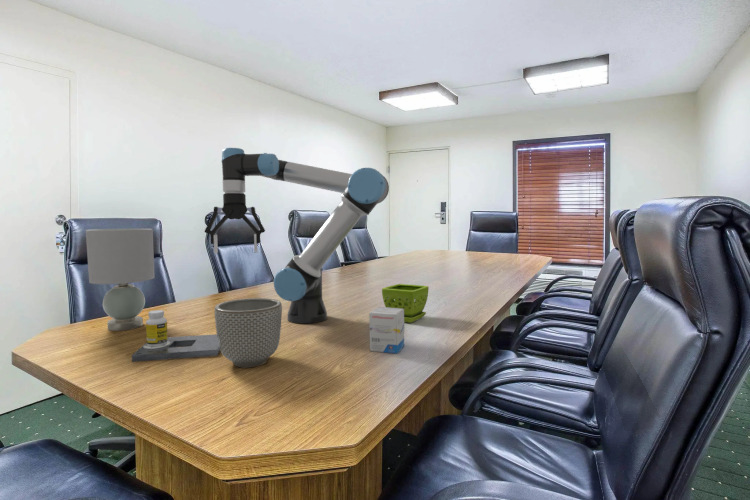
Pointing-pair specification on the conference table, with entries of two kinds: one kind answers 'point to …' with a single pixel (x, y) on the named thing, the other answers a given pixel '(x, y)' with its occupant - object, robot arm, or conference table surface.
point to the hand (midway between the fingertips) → (236, 252)
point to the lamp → (121, 271)
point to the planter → (248, 330)
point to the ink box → (386, 329)
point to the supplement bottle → (156, 328)
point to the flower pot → (406, 299)
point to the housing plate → (179, 348)
